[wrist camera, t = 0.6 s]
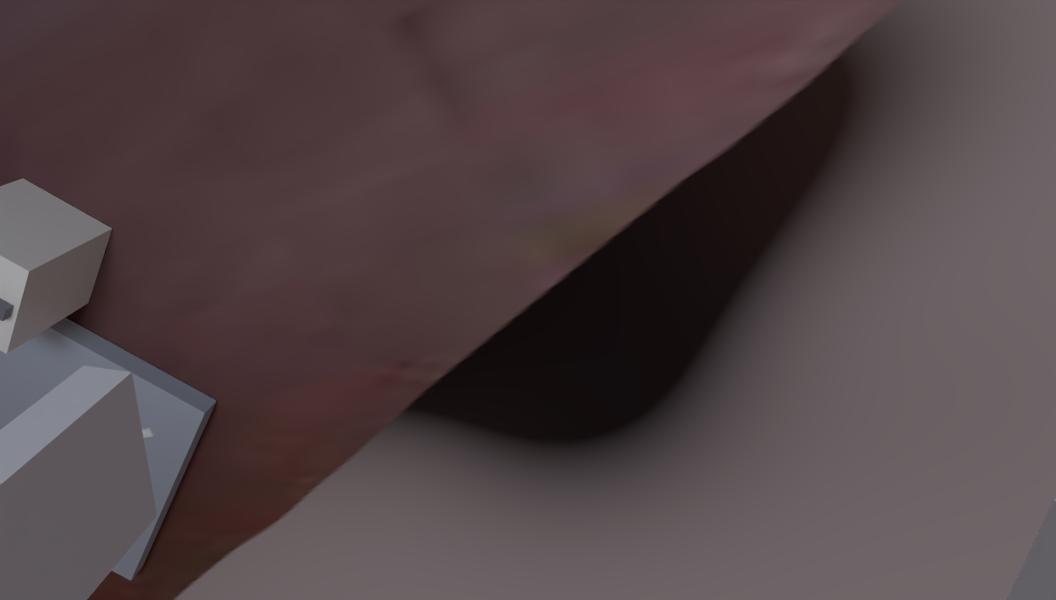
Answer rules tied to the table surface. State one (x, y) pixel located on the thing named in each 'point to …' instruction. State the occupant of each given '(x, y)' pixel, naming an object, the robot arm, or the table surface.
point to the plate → (162, 400)
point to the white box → (43, 261)
